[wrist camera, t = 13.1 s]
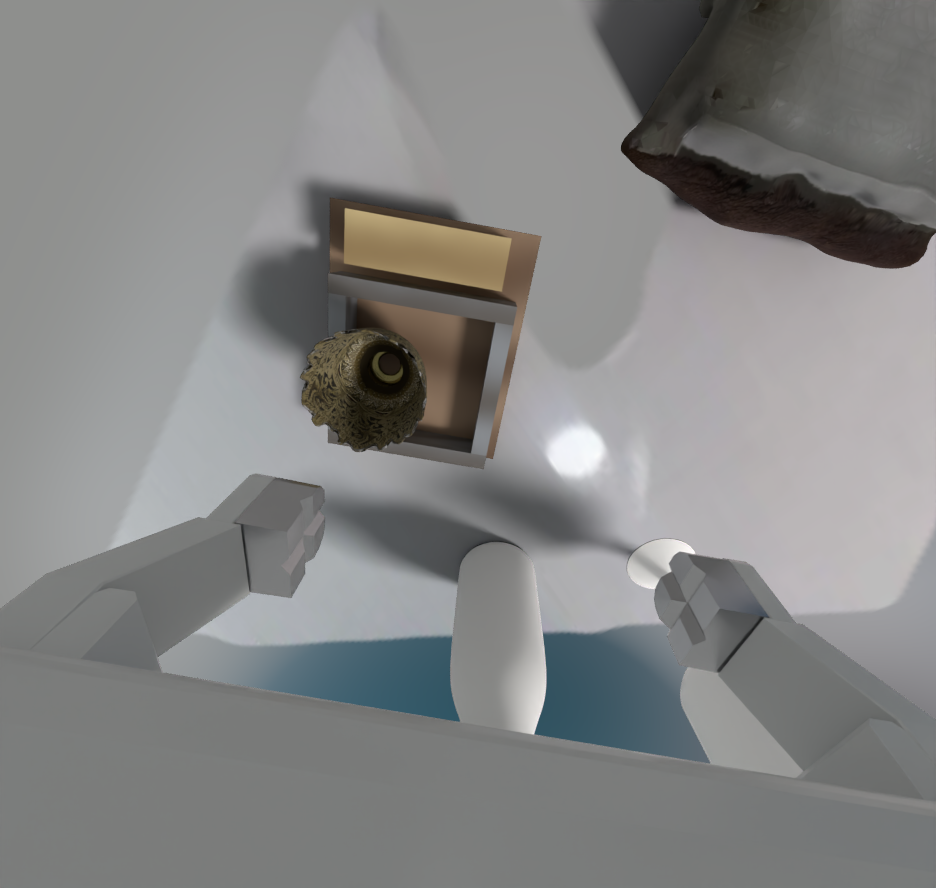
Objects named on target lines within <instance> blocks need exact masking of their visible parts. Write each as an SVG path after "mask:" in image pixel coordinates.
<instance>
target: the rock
mask: <svg viewBox="0 0 936 888" xmlns="http://www.w3.org/2000/svg"><path fill="white" fill-rule="evenodd" d="M699 10H700V13H701V17H704V18H709V19H708V20H707V22H706V24H705V26H704V28H703V29H702V31H701V33H700V35H699V36H698V38H697V39H696V40H695V42H694V43H693V45H692V46H691V47H690V49H689V50H688V52H687V53H686V54H685V56H684V57H683V59H682V60H681V61H680V63H679V64H678V65H677V67H676V68H675V70H674V71H673V73H672V74H671V76H670V77H669V79H668V80H667V82H666V83H665V85H664V86H663V88H662V90H661V91H660V93H659V95H658V96H657V98H656V100H655V101H654V103H653V104H652V106H651V108H650V109H649V111H648V112H647V114H646V115H645V116H644V118H643V119H642V121H641V122H640V123H639V124H638V125H637V126H636V128H634V129H633V130H632V131H631V132H630V133H629V134H628V135H627V137H626V138H625V139H624V141H623V142H622V145H621V151H622V153H623V154H624V155H625V156H626V157H627V158H628V159H629V160H630V161H631V162H632V163H633V164H634V165H635V166H636V167H637V168H638V169H639V170H641V171H642V172H644V173H645V174H647V175H649V176H651V177H653V178H655V179H657V180H658V181H660V182H662V183H663V184H665V185H666V186H667V187H668V188H669V189H670V190H671V191H673V192H674V193H675V194H676V195H677V196H679V197H680V198H681V199H683V200H684V201H686V202H687V203H689V204H691V205H692V206H694V207H695V208H697V209H698V210H699V211H701V212H702V213H703V214H705V215H706V216H707V217H709V218H710V219H712V220H713V221H715V222H717V223H719V224H721V225H724V226H728V227H732V228H736V229H740V230H744V231H749V232H758V233H768V234H776V235H784V236H789V237H793V238H796V239H799V240H802V241H805V242H807V243H809V244H811V245H813V246H814V247H816V248H817V249H819V250H820V251H822V252H824V253H826V254H828V255H831V256H834V257H837V258H840V259H843V260H847V261H851V262H856V263H861V264H866V265H870V266H873V267H878V268H903V267H908V266H911V265H912V264H914V263H916V262H918V261H919V260H920V258H921V257H923V256H924V254H925V252H926V250H927V245H928V243H929V241H930V239H931V237H932V236H933V235H934V234H935V233H936V0H701V3H700V7H699Z"/></svg>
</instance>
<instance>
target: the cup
mask: <svg viewBox="0 0 936 888" xmlns="http://www.w3.org/2000/svg"><path fill="white" fill-rule="evenodd" d="M333 334H334V336H331V337H328V338H326V339H323V340H322V341H320V342H318V343H317V344H316V345H315V346H314V348H315V349H313V350H312V352H311V353H310V354H309V355H308V356H307V360H308V362H307V363H308V364H309V366H308V367H307V368H306V369H304V371H303V373H302V374H301V376H300V378H301V379H302V380H305V385H304V388H303V390H302V405H303V406H304V407H305V408H306V409H307V410H308V411H309V412H310V413H311V414H312V415H313V416H312V422H313V423H314V425H315V426H318V427H319V426H321V425H325V424H326V425H327V426H328V427H329V428H330V431H331V432H334V433H336V434H338V443H339V444H340V445H345V444H347V443H348V444H349V445H350V447H351V448H352V450H353V451H355V452H363V451H366V450H368V449H370V448H372V447H377V450H379V452H380V451H382V450H384V449H386V448H387V447H388V445H389V444H390V442H392V443H393V444H401V443H402V442H403V441H404V439H405V438H407V437H410V436H411V435H412V434H413V433H414V432H415V430H416V428H417V425H418V422H419V421H422V420H423V417H424V411H425V406H426V402H427V378H426V371H425V367H424V364H423V361H422V358H421V357H420V355H419V353H418V351H417V350H416V349H415V347H414V346H413V345H412V344H411V343H410V342H409V341H408V340H406V339H405V338H404V337H402V336H401V335H399V334H397V333H395V332H392V331H390V330H386V329H381V328H361V329H353V330H346V331H338V332H335V333H333ZM385 354H393V355H395V356H396V357H397V358H398V359H399V361H400V369H399V371H398V372H397V373H396V374H393V375H388V374H385V373H384V372H383V371H382V370H381V369H380V366H379V360H380V358H381V357H382V356H383V355H385Z"/></svg>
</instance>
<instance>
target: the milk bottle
mask: <svg viewBox="0 0 936 888" xmlns="http://www.w3.org/2000/svg"><path fill="white" fill-rule="evenodd" d="M450 674H451V675H450V676H451V689H452V695H453V699H454V703H455V707H456V710H457V713H458V715H459V718H460V721H461V722H462V723H468V724H474V725H480V726H486V727H492V728H498V729H504V730H510V731H515V732H521V733H527V734H533V735H534V732H535V728H536V725H537V722H538V719H539V716H540V713H541V710H542V707H543V703H544V698H545V691H546V663H545V651H544V642H543V633H542V624H541V616H540V608H539V600H538V592H537V584H536V577H535V571H534V566H533V563H532V561H531V559H530V558H529V557H528V555H527V554H526V553H525V552H524V551H523V550H521V549H519V548H518V547H516V546H514V545H511V544H508V543H504V542H489V543H485V544H481V545H479V546H476V547H475V548H473V549H472V550H471V551H470V552H469V553H468V554H467V555H466V556H465V557H464V559H463V560H462V562H461V565H460V571H459V579H458V588H457V598H456V608H455V617H454V628H453V638H452V649H451V667H450Z"/></svg>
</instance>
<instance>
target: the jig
mask: <svg viewBox="0 0 936 888" xmlns="http://www.w3.org/2000/svg"><path fill="white" fill-rule="evenodd" d="M540 240H541V236H537V235H532V234H526V233H521V232H515V231H510V230H505V229H499V228H494V227H488V226H482V225H477V224H472V223H466V222H461V221H455V220H450V219H444V218H439V217H433V216H428V215H422V214H417V213H411V212H406V211H401V210H395V209H390V208H384V207H379V206H373V205H368V204H362V203H357V202H351V201H346V200H340V199H335V198H330V273H328V337H331V336H334V334H333V333H335V332H338V331H346V330H353V329H361V328H381V329H386V330H390V331H392V332H395V333H397V334H399V335H401V336H402V337H404V338H405V339H406V340H408V341H409V342H410V343H411V344H412V345H413V346H414V347H415V349H416V350H417V351H418V353H419V355H420V357H421V358H422V361H423V364H424V367H425V371H426V378H427V402H426V406H425V411H424V417H423V420H422V421H419V422H418V425H417V428H416V430H415V432H414V433H413V434H412V435H411V436H410V437H407V438H405V439H404V441H403V442H402V443H401V444H393V443H392V442H390V444H389V445H388V447H387V448H386V449H384V450H382V451H380V452H385V453H391V454H397V455H403V456H409V457H415V458H421V459H427V460H433V461H438V462H444V463H450V464H456V465H462V466H468V467H474V468H480V469H484V464H485V460H486V458H491V459H493V456H494V451H495V447H496V442H497V437H498V433H499V428H500V424H501V419H502V414H503V410H504V405H505V401H506V396H507V392H508V387H509V382H510V378H511V373H512V369H513V364H514V359H515V355H516V350H517V346H518V341H519V337H520V332H521V327H522V323H523V318H524V314H525V309H526V304H527V300H528V295H529V290H530V286H531V281H532V277H533V272H534V268H535V263H536V259H537V254H538V249H539V245H540ZM379 366H380V369H381V370H382V371H383V372H384V373H385V374H388V375H393V374H396V373H397V372H398V371H399V369H400V361H399V359H398V358H397V357H396V356H395V355H393V354H385V355H383V356H382V357H381V358H380V360H379ZM328 443H332V444H338V445H340V444H339V443H338V434H336V433H334V432H331V431H330V428H329V427H328ZM344 446H350V445H349V444H348V443H347V444H345V445H344ZM368 450H374V451H379V450H377V447H372V448H370V449H368Z"/></svg>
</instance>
